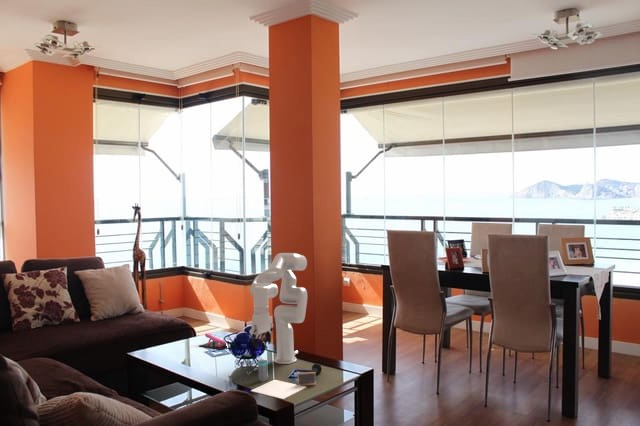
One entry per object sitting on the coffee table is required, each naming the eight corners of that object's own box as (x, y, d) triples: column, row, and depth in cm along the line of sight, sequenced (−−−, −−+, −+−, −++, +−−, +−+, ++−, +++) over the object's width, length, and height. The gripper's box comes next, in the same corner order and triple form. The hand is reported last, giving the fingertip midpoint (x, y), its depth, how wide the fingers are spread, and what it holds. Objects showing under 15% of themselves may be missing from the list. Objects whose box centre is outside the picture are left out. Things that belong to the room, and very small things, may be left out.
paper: (274, 380, 280) (274, 379, 280) (306, 387, 268) (306, 386, 268) (250, 391, 265) (250, 390, 265) (283, 399, 254) (283, 398, 254)
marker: (262, 378, 282) (262, 359, 282) (267, 379, 281) (267, 360, 280) (258, 380, 280) (258, 361, 279) (263, 381, 278) (263, 362, 277)
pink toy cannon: (213, 341, 358) (212, 330, 357) (236, 345, 347) (236, 334, 347) (196, 347, 345) (196, 335, 345) (220, 351, 335) (220, 339, 334)
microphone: (309, 389, 274) (321, 372, 292) (312, 379, 273) (324, 363, 291) (300, 385, 276) (312, 369, 293) (302, 376, 274) (315, 360, 292)
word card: (297, 384, 272) (297, 372, 272) (315, 383, 273) (315, 372, 273) (297, 385, 271) (297, 373, 271) (315, 384, 272) (315, 372, 271)
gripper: (266, 306, 288) (267, 339, 288) (244, 312, 274) (244, 346, 274) (277, 308, 284) (278, 341, 284) (255, 314, 269) (256, 348, 270)
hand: (262, 343), depth 279 cm, fingers open, 9 cm apart
